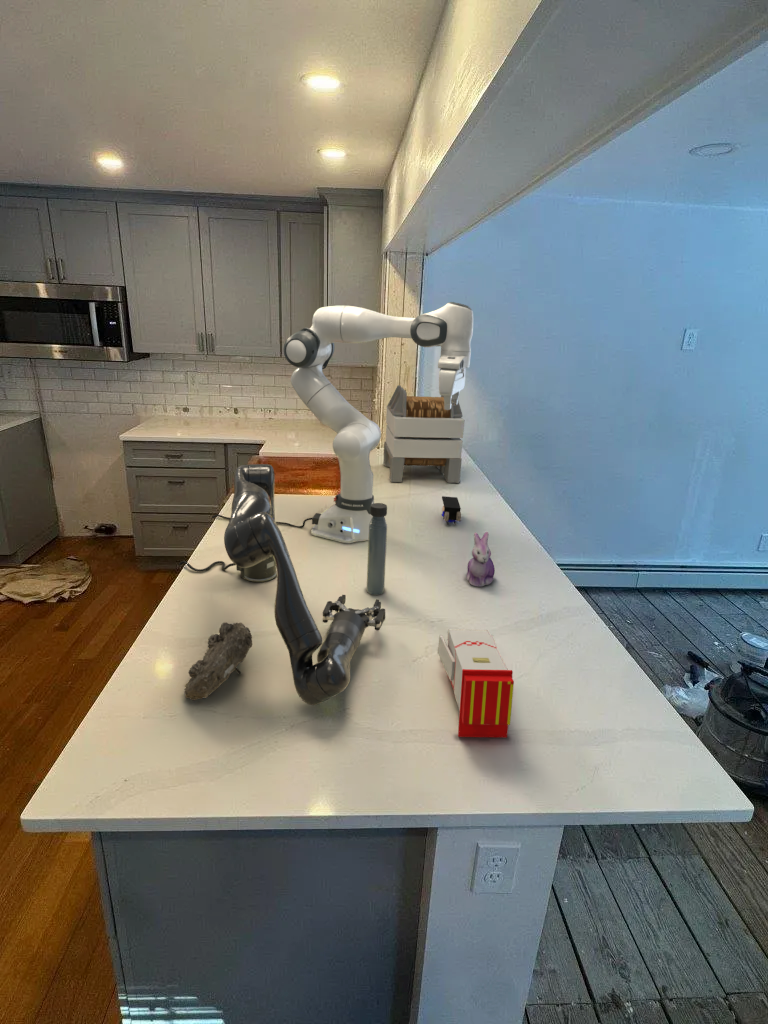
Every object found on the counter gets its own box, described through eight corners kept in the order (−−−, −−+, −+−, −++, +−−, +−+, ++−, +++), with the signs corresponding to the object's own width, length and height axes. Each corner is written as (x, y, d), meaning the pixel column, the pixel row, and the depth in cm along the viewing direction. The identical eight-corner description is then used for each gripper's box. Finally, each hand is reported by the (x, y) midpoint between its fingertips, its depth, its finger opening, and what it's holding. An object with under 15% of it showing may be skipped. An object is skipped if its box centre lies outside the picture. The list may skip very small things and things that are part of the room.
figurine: (477, 590, 161) (482, 542, 156) (457, 575, 170) (461, 529, 165) (503, 584, 166) (509, 537, 161) (482, 570, 174) (487, 525, 169)
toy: (488, 613, 130) (523, 677, 101) (484, 667, 133) (517, 744, 104) (435, 612, 130) (455, 676, 101) (432, 666, 133) (451, 743, 103)
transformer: (382, 463, 289) (386, 382, 275) (445, 464, 293) (451, 384, 279) (390, 482, 257) (394, 392, 243) (460, 483, 261) (468, 394, 247)
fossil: (205, 625, 130) (252, 594, 125) (233, 653, 133) (280, 624, 128) (163, 694, 111) (216, 661, 106) (197, 725, 114) (251, 694, 109)
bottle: (373, 584, 162) (377, 502, 154) (387, 590, 160) (391, 506, 151) (362, 590, 159) (365, 507, 150) (376, 596, 156) (380, 511, 147)
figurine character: (461, 530, 209) (456, 512, 222) (463, 512, 205) (458, 495, 219) (443, 530, 208) (439, 512, 222) (445, 511, 205) (440, 494, 218)
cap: (377, 510, 154) (377, 501, 153) (390, 514, 152) (390, 505, 151) (367, 514, 151) (367, 505, 150) (380, 518, 149) (380, 509, 148)
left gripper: (376, 625, 123) (389, 590, 138) (313, 616, 125) (333, 583, 140) (374, 654, 125) (388, 617, 140) (313, 645, 128) (332, 609, 143)
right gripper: (452, 357, 179) (448, 401, 183) (436, 362, 160) (432, 411, 165) (471, 359, 177) (467, 403, 182) (458, 364, 159) (454, 413, 163)
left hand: (360, 600), depth 140 cm, fingers open, 8 cm apart
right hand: (450, 407), depth 173 cm, fingers open, 8 cm apart
